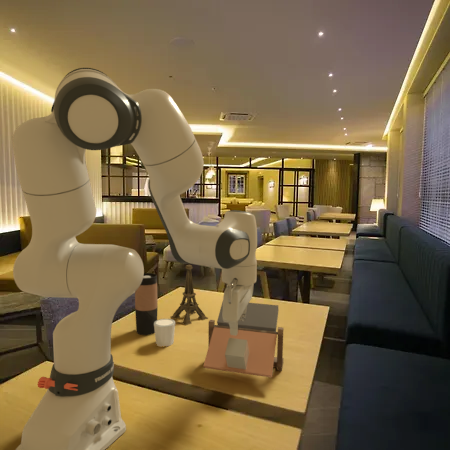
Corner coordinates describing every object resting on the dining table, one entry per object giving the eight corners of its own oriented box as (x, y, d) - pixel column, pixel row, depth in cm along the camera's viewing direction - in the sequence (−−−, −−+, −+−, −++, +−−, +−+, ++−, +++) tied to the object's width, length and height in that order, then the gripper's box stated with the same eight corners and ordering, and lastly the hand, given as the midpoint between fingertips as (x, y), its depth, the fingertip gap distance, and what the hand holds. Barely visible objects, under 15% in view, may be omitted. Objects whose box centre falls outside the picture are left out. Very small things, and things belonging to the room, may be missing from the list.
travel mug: (155, 325, 129) (155, 272, 126) (159, 333, 121) (159, 277, 119) (134, 328, 126) (133, 273, 124) (137, 336, 119) (136, 279, 117)
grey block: (246, 369, 90) (243, 357, 86) (227, 367, 91) (224, 354, 87) (249, 352, 93) (247, 340, 90) (231, 350, 95) (228, 337, 91)
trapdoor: (272, 379, 89) (271, 375, 88) (204, 370, 94) (203, 365, 92) (280, 310, 105) (279, 305, 104) (222, 304, 110) (221, 300, 108)
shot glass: (171, 348, 110) (170, 327, 110) (150, 346, 112) (150, 325, 111) (178, 339, 117) (178, 319, 116) (158, 337, 118) (158, 317, 118)
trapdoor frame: (281, 371, 97) (283, 329, 96) (208, 360, 103) (208, 321, 101) (283, 362, 102) (284, 323, 101) (212, 353, 107) (213, 315, 106)
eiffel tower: (170, 317, 137) (169, 254, 134) (192, 311, 144) (192, 251, 141) (185, 325, 129) (185, 258, 127) (208, 318, 136) (208, 255, 133)
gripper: (243, 286, 78) (242, 345, 79) (257, 266, 97) (256, 314, 99) (215, 284, 79) (215, 342, 81) (235, 265, 99) (235, 312, 100)
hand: (238, 326), depth 90 cm, fingers open, 8 cm apart
